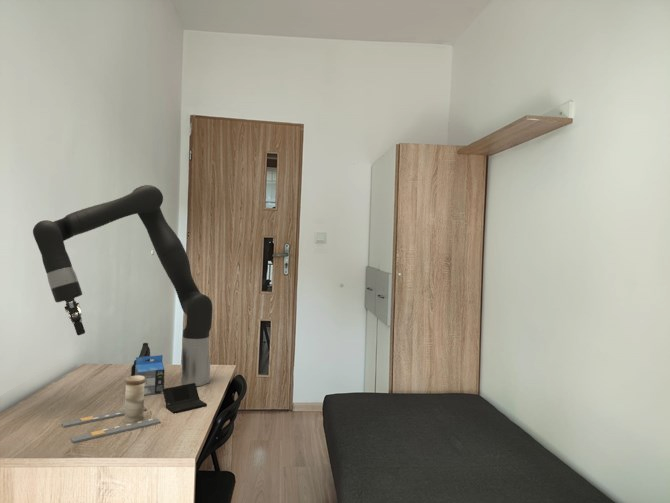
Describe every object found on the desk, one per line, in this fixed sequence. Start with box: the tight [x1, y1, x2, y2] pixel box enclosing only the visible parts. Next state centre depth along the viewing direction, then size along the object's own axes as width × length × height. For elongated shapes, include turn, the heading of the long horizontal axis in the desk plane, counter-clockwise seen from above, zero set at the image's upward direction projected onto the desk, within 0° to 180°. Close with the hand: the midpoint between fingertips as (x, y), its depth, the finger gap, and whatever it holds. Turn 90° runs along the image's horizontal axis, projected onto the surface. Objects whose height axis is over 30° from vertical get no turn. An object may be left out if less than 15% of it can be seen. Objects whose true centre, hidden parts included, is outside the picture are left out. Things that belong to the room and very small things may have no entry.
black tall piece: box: [130, 342, 151, 376], centre depth 167 cm, size 17×3×30 cm
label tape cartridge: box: [135, 354, 166, 396], centre depth 153 cm, size 9×4×12 cm, turn 123°
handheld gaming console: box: [162, 383, 208, 415], centre depth 143 cm, size 12×7×10 cm
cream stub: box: [124, 375, 145, 423], centre depth 130 cm, size 5×5×12 cm
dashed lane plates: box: [61, 406, 162, 444], centre depth 126 cm, size 22×15×1 cm
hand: (81, 334), depth 138 cm, fingers open, 8 cm apart
